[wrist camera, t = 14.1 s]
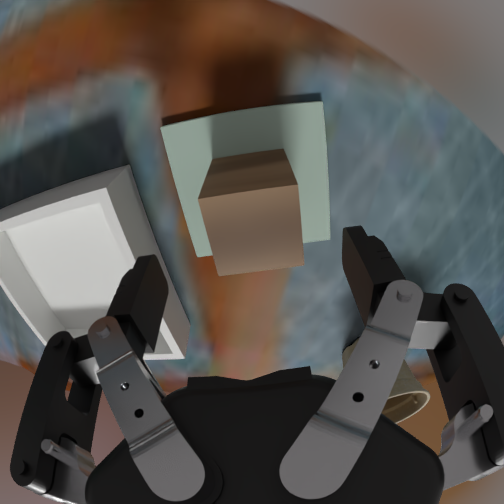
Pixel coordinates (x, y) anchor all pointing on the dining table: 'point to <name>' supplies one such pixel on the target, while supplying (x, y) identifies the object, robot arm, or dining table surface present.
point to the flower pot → (400, 392)
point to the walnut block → (252, 213)
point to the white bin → (81, 257)
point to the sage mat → (248, 141)
